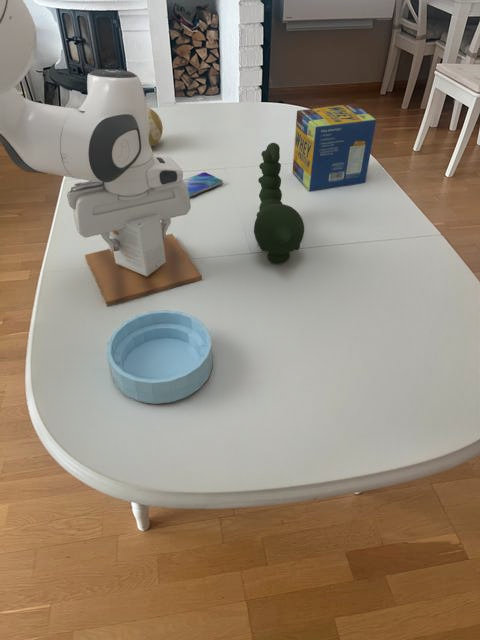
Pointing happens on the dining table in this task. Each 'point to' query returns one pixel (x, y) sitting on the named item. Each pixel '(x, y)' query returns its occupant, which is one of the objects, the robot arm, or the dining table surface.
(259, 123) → the dining table surface
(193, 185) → the smartphone
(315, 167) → the protein box
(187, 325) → the bowl
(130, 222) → the small box
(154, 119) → the mushroom
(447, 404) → the dining table surface
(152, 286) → the brown wooden board
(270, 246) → the toy figurine
